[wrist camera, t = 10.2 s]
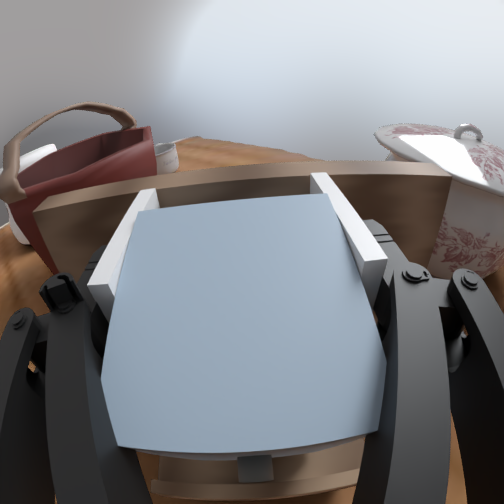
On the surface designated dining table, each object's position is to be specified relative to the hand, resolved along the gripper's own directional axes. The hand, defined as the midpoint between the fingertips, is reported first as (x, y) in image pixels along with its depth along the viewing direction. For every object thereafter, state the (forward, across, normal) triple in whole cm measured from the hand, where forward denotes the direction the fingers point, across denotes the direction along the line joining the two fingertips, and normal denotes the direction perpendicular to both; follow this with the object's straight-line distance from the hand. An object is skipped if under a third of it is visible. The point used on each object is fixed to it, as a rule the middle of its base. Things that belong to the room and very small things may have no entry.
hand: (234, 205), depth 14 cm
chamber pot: (+17, +31, -19) cm, 40 cm away
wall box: (-4, 0, -12) cm, 13 cm away
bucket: (+21, -21, -19) cm, 36 cm away
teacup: (+59, -20, -19) cm, 65 cm away
